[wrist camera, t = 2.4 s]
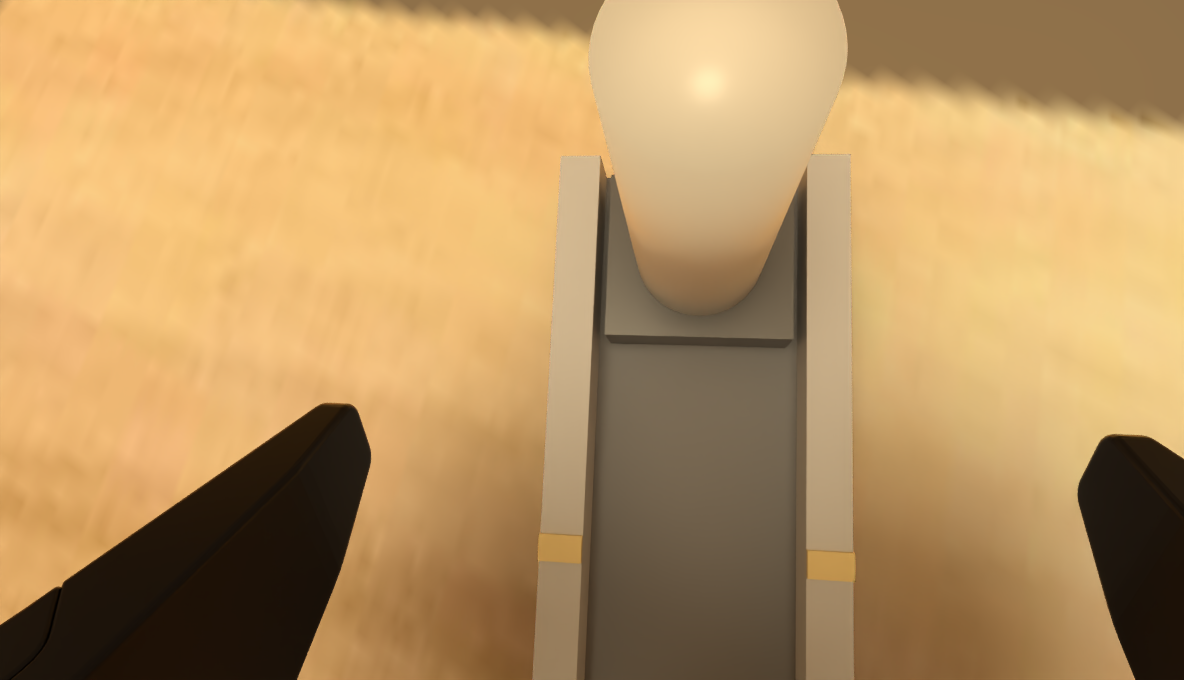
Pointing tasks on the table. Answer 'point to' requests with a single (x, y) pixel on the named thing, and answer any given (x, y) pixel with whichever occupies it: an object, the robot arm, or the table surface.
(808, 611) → the fader console
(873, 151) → the table surface
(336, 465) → the robot arm
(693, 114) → the fader slider
